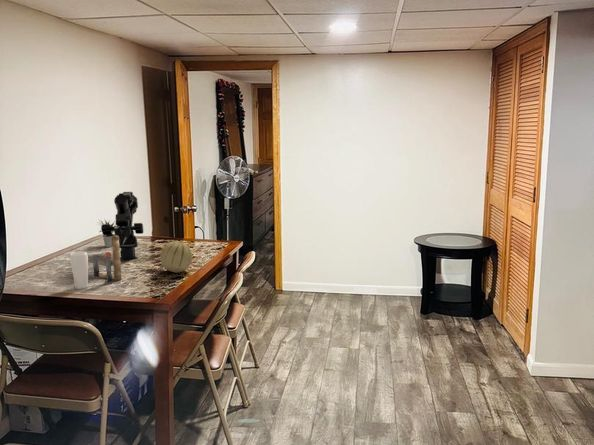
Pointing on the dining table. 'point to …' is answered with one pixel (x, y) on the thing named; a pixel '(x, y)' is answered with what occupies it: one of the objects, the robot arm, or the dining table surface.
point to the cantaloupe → (176, 256)
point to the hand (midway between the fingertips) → (122, 244)
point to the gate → (115, 259)
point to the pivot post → (95, 266)
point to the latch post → (108, 268)
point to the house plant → (108, 236)
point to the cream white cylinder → (80, 269)
